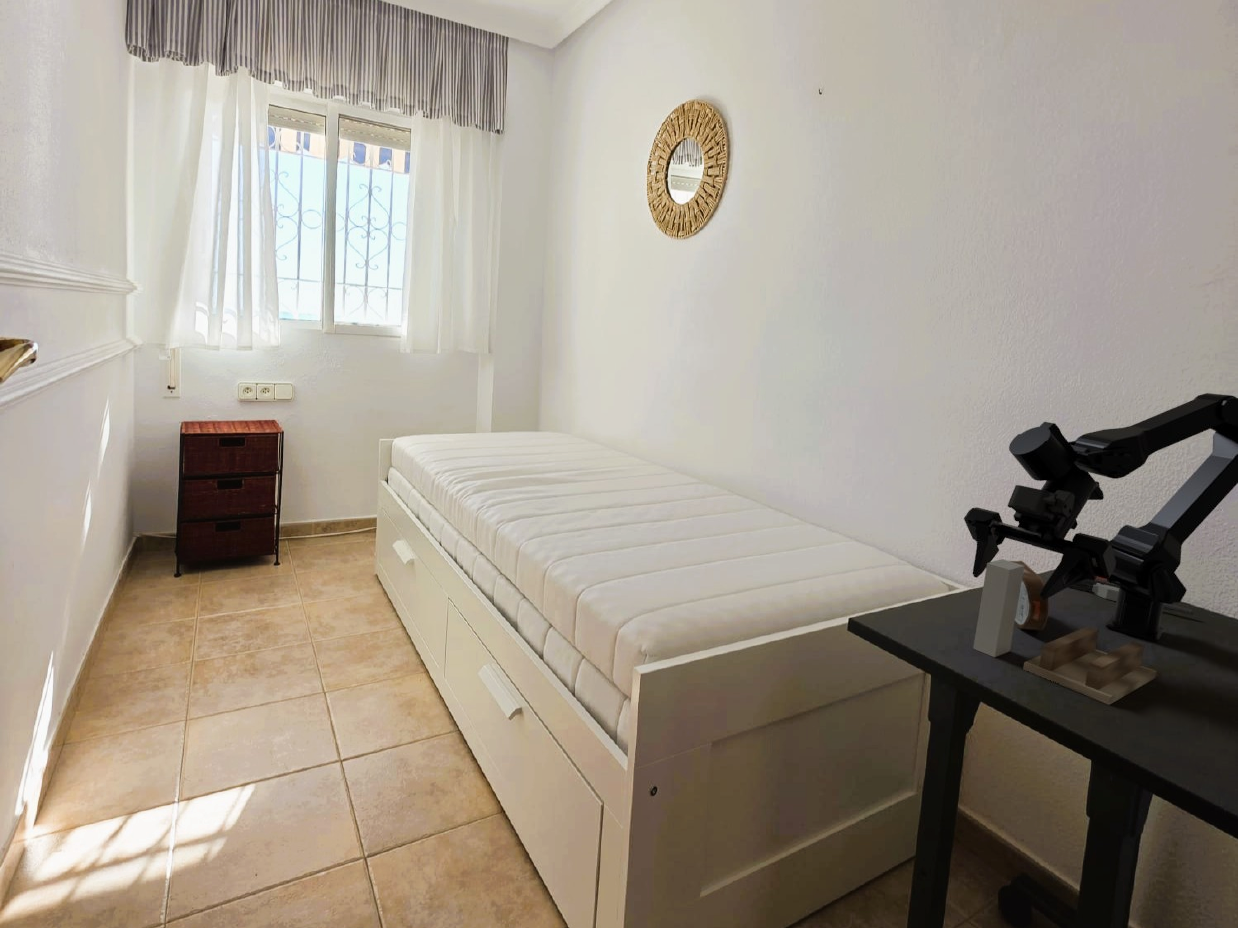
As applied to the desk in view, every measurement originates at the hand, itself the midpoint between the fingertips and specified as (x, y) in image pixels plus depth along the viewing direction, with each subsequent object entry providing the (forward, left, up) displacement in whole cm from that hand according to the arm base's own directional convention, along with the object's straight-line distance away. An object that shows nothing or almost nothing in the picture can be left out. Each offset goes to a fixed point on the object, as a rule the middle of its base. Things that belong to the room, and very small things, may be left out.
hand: (1006, 586), depth 96 cm
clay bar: (+2, 0, -9) cm, 9 cm away
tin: (-14, -2, -9) cm, 17 cm away
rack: (-1, +11, -9) cm, 14 cm away
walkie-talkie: (-42, +7, -9) cm, 44 cm away
